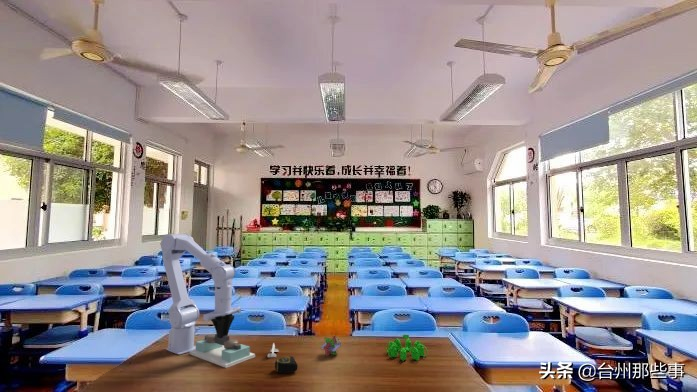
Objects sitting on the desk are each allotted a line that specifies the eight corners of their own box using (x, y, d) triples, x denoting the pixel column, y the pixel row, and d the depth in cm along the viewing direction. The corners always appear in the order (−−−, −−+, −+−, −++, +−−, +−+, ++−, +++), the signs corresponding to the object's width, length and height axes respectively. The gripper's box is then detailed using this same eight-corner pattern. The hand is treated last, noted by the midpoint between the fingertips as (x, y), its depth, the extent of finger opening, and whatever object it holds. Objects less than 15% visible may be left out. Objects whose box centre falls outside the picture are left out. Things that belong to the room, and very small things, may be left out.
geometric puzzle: (328, 355, 123) (337, 333, 127) (314, 351, 127) (322, 329, 131) (338, 363, 127) (346, 341, 131) (324, 358, 131) (332, 337, 135)
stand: (189, 354, 131) (190, 342, 131) (218, 345, 140) (218, 334, 141) (226, 367, 118) (226, 355, 118) (255, 356, 127) (255, 345, 128)
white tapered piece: (265, 352, 133) (265, 340, 133) (283, 352, 133) (283, 340, 133) (255, 369, 118) (256, 355, 118) (276, 369, 118) (276, 355, 118)
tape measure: (297, 374, 113) (298, 362, 113) (276, 377, 111) (276, 364, 111) (294, 366, 119) (294, 354, 120) (273, 368, 117) (273, 356, 118)
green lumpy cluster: (436, 358, 125) (435, 338, 126) (400, 366, 119) (400, 345, 119) (410, 345, 139) (410, 327, 139) (377, 352, 132) (377, 332, 133)
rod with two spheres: (200, 340, 133) (200, 332, 134) (211, 337, 137) (212, 329, 137) (233, 351, 122) (233, 342, 122) (244, 347, 125) (245, 338, 126)
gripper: (211, 303, 122) (210, 344, 121) (246, 296, 134) (245, 333, 133) (200, 301, 126) (199, 340, 125) (234, 294, 138) (234, 330, 137)
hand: (222, 336), depth 129 cm, fingers closed on rod with two spheres, 2 cm apart
